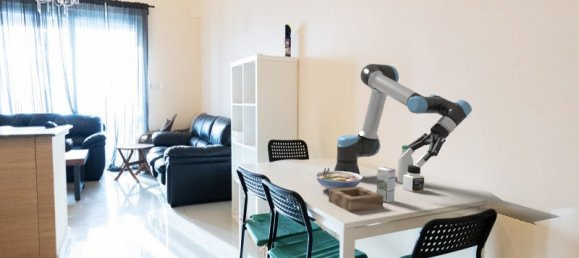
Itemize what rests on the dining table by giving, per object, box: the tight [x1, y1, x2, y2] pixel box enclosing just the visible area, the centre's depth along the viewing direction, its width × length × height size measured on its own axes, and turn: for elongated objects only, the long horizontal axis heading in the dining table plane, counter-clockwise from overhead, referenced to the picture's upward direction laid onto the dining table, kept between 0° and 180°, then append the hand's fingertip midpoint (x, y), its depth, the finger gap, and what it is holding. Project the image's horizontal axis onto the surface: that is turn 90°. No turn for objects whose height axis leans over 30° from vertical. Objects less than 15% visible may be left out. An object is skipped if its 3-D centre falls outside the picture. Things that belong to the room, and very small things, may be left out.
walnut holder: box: [328, 186, 384, 213], centre depth 150 cm, size 16×16×5 cm
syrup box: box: [376, 166, 397, 204], centre depth 156 cm, size 6×6×14 cm
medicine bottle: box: [402, 164, 425, 193], centre depth 177 cm, size 7×7×12 cm
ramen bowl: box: [314, 167, 364, 191], centre depth 172 cm, size 25×23×8 cm
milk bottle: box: [396, 144, 414, 185], centre depth 191 cm, size 8×8×20 cm
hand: (409, 162), depth 158 cm, fingers open, 13 cm apart
